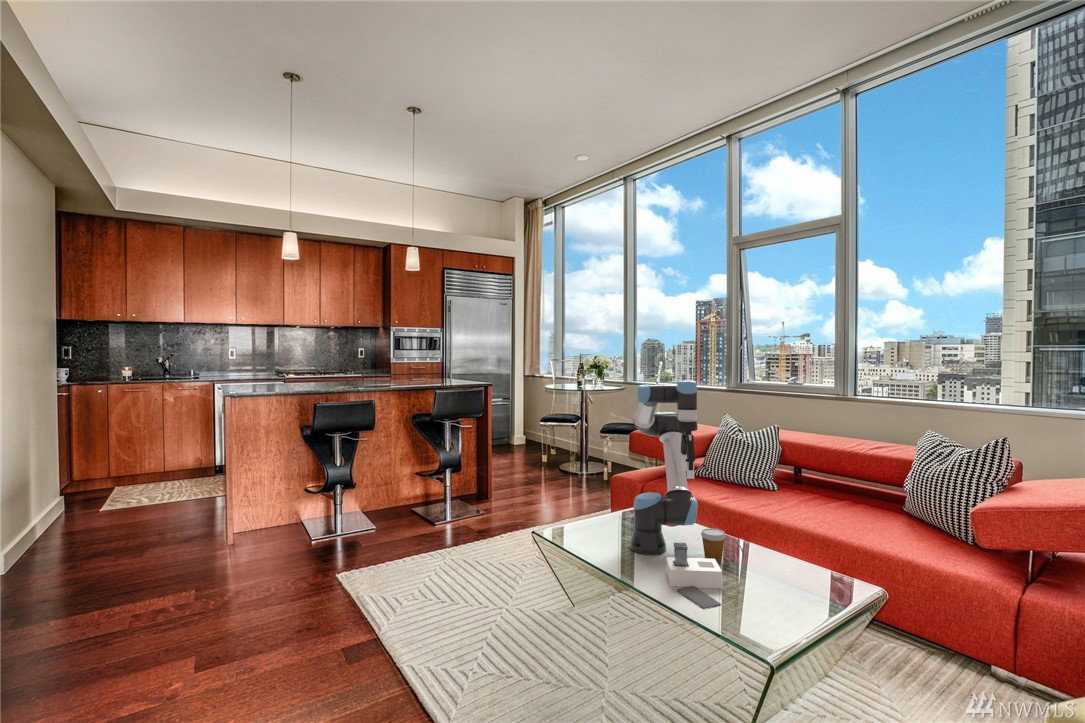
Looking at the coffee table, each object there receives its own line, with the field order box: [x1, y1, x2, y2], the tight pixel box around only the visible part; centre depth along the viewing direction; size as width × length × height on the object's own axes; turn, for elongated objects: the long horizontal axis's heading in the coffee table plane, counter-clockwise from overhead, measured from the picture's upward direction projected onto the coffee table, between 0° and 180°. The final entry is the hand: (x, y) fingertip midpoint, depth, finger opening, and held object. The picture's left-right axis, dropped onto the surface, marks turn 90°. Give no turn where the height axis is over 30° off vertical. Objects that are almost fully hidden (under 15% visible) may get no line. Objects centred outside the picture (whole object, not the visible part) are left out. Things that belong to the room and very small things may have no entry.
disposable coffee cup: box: [700, 527, 726, 565], centre depth 210 cm, size 10×10×12 cm
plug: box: [673, 542, 689, 567], centre depth 193 cm, size 4×4×12 cm
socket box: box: [665, 556, 723, 589], centre depth 192 cm, size 12×18×6 cm
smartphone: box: [676, 586, 722, 609], centre depth 178 cm, size 8×1×15 cm
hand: (687, 474), depth 203 cm, fingers open, 13 cm apart
